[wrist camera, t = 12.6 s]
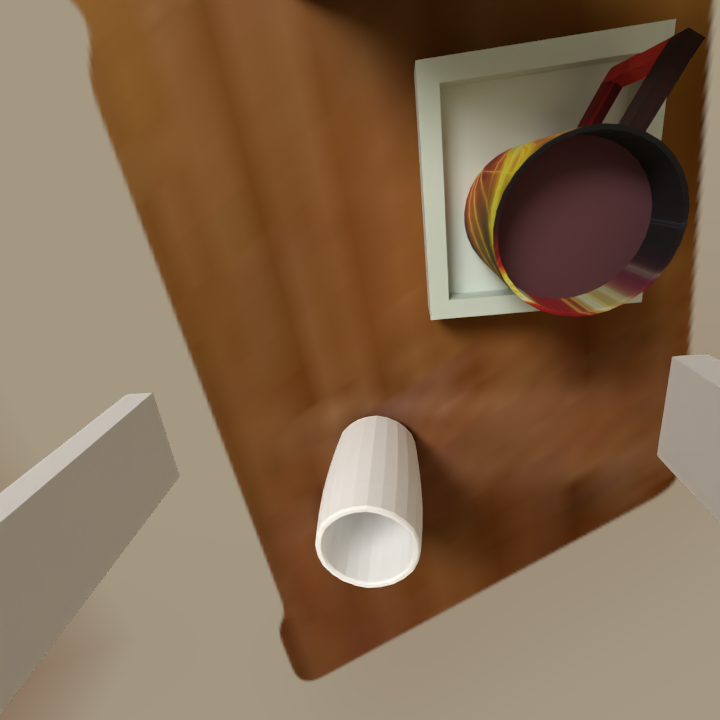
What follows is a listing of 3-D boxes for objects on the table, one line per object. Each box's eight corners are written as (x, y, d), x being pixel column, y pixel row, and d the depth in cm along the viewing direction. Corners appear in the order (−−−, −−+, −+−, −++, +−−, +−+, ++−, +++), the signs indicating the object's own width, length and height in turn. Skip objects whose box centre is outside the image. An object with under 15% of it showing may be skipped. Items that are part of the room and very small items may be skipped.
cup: (417, 479, 47) (423, 595, 34) (338, 475, 47) (314, 588, 34) (420, 407, 43) (427, 506, 30) (335, 405, 44) (307, 500, 31)
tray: (413, 73, 33) (415, 60, 29) (643, 37, 31) (676, 18, 27) (428, 306, 40) (431, 320, 36) (618, 290, 37) (641, 302, 34)
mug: (616, 71, 30) (740, 8, 19) (583, 273, 35) (665, 316, 24) (472, 78, 31) (509, 22, 20) (460, 274, 36) (485, 316, 25)
